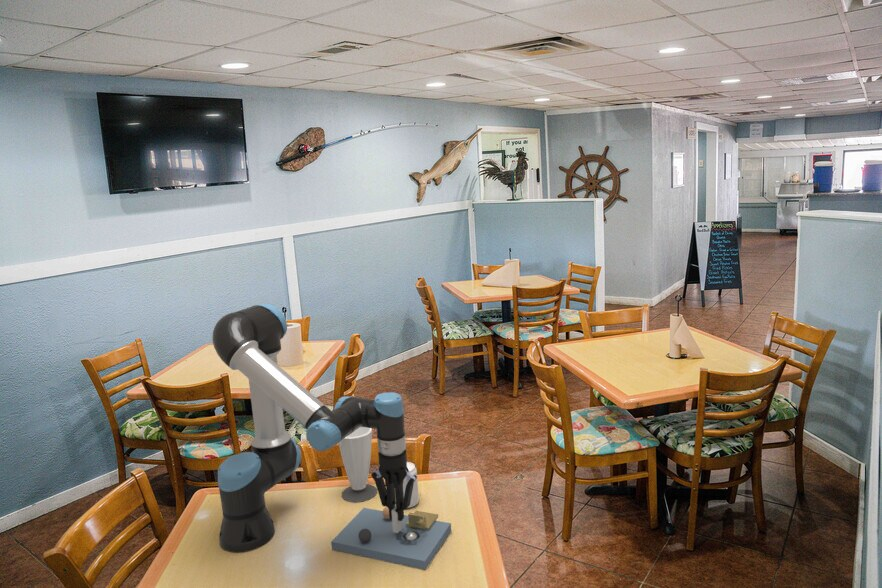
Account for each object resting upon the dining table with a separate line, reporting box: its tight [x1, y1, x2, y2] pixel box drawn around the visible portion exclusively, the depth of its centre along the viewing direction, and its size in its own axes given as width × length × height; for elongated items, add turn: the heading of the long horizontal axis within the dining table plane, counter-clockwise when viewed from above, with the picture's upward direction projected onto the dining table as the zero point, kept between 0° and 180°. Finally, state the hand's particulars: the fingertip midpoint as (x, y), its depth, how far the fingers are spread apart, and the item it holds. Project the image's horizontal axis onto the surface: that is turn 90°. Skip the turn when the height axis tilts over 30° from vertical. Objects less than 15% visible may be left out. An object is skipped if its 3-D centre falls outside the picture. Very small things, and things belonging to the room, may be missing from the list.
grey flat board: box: [331, 507, 452, 571], centre depth 170 cm, size 28×18×2 cm, turn 68°
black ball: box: [358, 529, 371, 542], centre depth 166 cm, size 4×4×4 cm
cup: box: [338, 427, 378, 504], centre depth 194 cm, size 12×12×22 cm
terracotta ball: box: [382, 506, 390, 519], centre depth 176 cm, size 4×4×4 cm
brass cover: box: [406, 510, 439, 530], centre depth 173 cm, size 7×7×4 cm
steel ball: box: [405, 532, 418, 541], centre depth 167 cm, size 4×4×4 cm
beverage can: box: [395, 461, 420, 509], centre depth 188 cm, size 8×8×12 cm
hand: (397, 529), depth 169 cm, fingers closed
